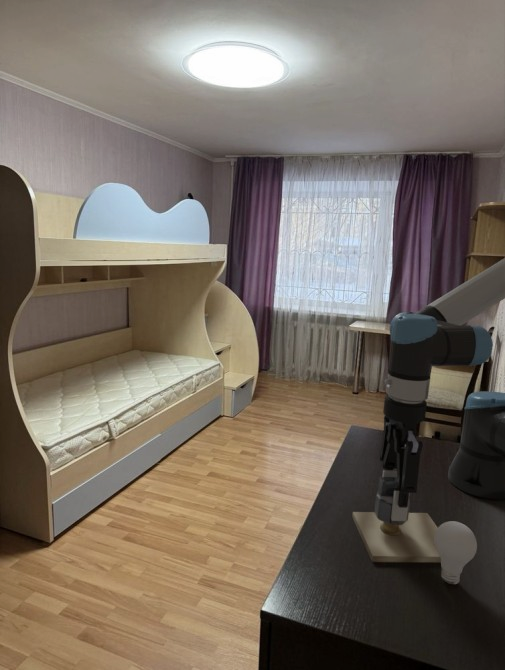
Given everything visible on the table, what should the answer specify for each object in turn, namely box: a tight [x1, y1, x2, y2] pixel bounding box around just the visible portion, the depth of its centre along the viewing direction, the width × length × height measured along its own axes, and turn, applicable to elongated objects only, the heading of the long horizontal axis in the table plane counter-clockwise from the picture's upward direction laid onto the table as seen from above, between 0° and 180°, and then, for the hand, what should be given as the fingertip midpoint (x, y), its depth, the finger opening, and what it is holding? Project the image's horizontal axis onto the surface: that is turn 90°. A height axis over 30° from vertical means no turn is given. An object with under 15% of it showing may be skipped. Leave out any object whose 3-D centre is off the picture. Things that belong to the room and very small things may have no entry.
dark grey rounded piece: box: [373, 476, 411, 525], centre depth 91 cm, size 6×6×8 cm
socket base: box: [351, 511, 441, 563], centre depth 92 cm, size 16×14×4 cm
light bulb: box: [434, 520, 478, 585], centre depth 80 cm, size 7×7×11 cm
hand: (392, 509), depth 92 cm, fingers closed on dark grey rounded piece, 6 cm apart
